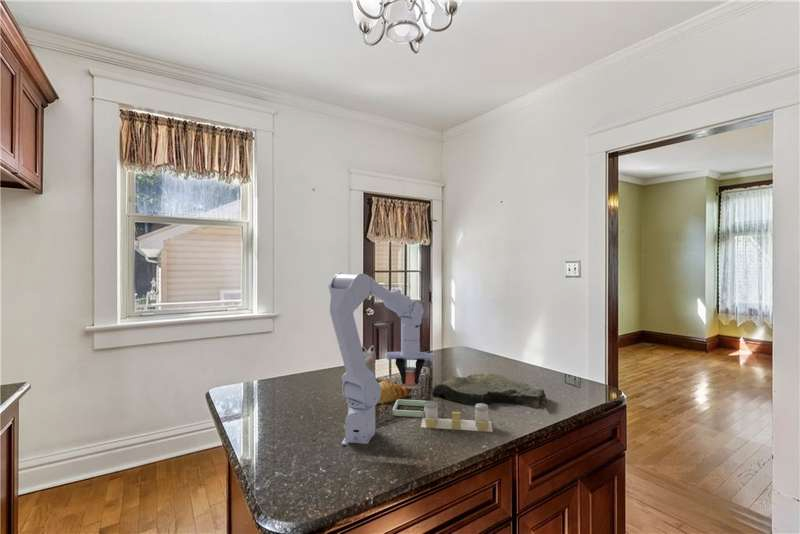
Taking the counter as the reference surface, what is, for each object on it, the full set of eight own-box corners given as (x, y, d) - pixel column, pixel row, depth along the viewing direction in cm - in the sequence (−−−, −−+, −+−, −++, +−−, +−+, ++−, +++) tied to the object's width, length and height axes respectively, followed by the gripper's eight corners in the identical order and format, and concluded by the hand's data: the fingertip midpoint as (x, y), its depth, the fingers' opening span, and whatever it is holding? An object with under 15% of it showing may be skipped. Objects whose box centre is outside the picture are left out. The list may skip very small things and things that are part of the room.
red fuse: (415, 388, 114) (415, 370, 114) (404, 388, 115) (403, 369, 115) (416, 384, 118) (416, 366, 118) (405, 384, 118) (405, 366, 118)
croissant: (354, 419, 121) (357, 401, 117) (346, 396, 129) (349, 378, 125) (414, 407, 129) (419, 390, 126) (403, 386, 137) (407, 369, 134)
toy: (362, 390, 137) (362, 349, 137) (353, 375, 156) (353, 339, 155) (379, 388, 139) (379, 348, 139) (369, 373, 157) (369, 338, 157)
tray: (425, 420, 111) (425, 412, 111) (391, 418, 113) (391, 410, 113) (427, 408, 120) (427, 400, 120) (396, 406, 122) (396, 399, 122)
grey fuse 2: (488, 429, 103) (488, 408, 103) (475, 428, 104) (475, 407, 104) (487, 423, 107) (487, 403, 107) (474, 422, 107) (474, 403, 107)
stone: (557, 387, 125) (509, 408, 106) (557, 406, 125) (509, 431, 106) (472, 363, 151) (421, 377, 132) (471, 379, 151) (421, 395, 132)
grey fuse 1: (437, 425, 105) (437, 405, 105) (424, 425, 106) (424, 405, 106) (438, 420, 109) (438, 401, 109) (425, 419, 110) (425, 400, 109)
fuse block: (492, 435, 102) (492, 423, 102) (420, 430, 105) (420, 419, 105) (490, 424, 108) (490, 413, 108) (422, 420, 111) (422, 409, 111)
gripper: (434, 337, 119) (435, 380, 119) (389, 335, 121) (389, 378, 121) (433, 341, 112) (433, 387, 112) (385, 340, 114) (385, 385, 114)
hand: (410, 383), depth 116 cm, fingers closed on red fuse, 3 cm apart
